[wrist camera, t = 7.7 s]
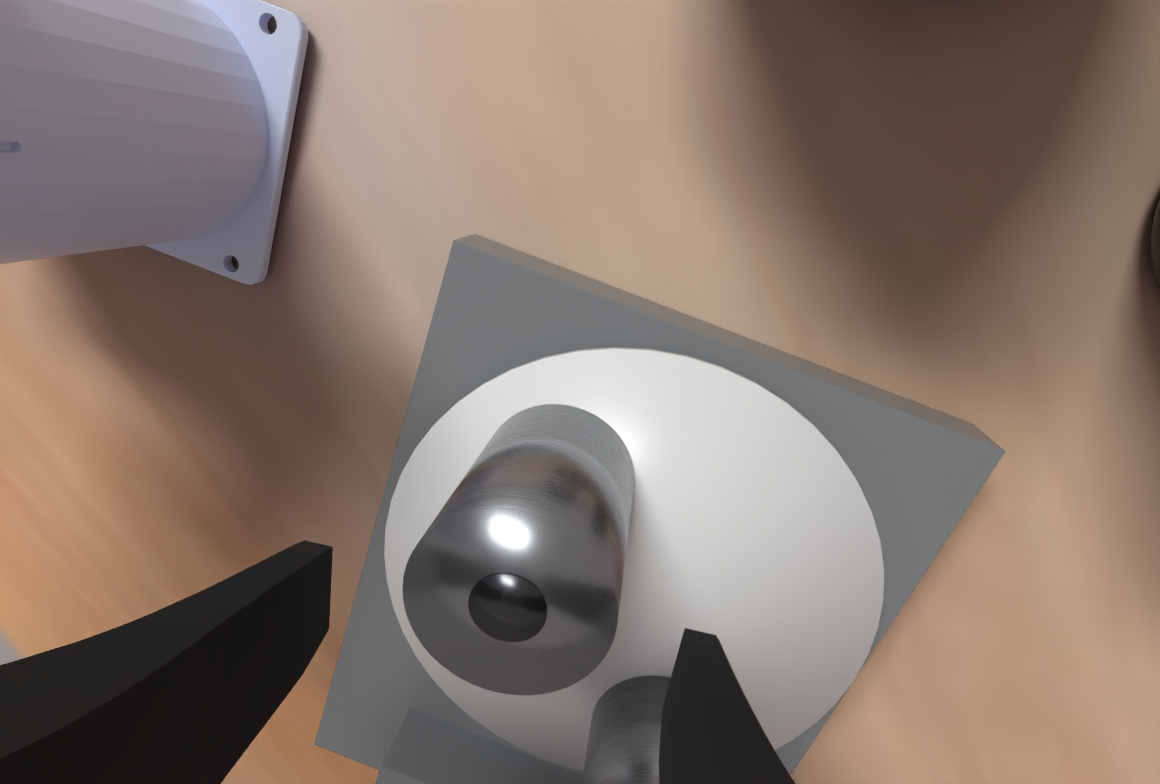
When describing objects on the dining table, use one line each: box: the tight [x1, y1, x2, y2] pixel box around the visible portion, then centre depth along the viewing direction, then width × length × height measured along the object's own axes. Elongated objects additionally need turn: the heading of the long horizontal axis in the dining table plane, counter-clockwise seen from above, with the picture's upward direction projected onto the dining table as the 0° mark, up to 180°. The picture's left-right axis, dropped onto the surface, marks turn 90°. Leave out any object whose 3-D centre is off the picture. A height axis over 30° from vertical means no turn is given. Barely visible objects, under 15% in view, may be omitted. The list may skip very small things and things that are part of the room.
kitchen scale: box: [314, 234, 1005, 784], centre depth 20 cm, size 16×20×5 cm
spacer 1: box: [402, 404, 635, 696], centre depth 16 cm, size 4×4×6 cm
